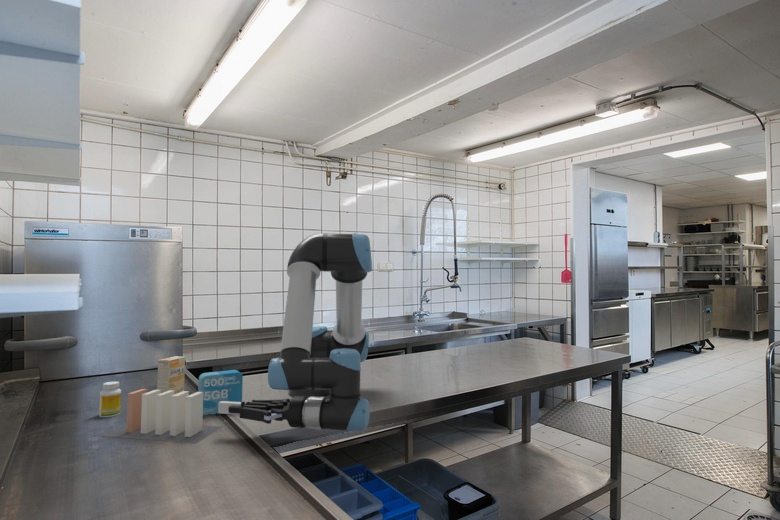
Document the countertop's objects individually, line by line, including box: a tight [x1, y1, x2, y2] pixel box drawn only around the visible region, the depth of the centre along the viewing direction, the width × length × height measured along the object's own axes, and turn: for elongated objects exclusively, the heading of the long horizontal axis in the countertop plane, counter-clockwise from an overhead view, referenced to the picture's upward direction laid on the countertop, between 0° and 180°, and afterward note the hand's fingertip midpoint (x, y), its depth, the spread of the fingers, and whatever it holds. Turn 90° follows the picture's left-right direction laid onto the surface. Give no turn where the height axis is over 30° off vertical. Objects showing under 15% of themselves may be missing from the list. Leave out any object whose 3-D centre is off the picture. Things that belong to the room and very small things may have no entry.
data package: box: [197, 369, 244, 416], centre depth 130 cm, size 12×4×12 cm, turn 123°
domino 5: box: [185, 391, 204, 437], centre depth 111 cm, size 2×5×10 cm, turn 171°
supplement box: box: [156, 355, 186, 394], centre depth 148 cm, size 8×5×13 cm, turn 168°
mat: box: [102, 424, 223, 444], centre depth 112 cm, size 26×12×1 cm, turn 81°
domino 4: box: [170, 390, 190, 436], centre depth 112 cm, size 2×5×10 cm, turn 171°
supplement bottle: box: [98, 381, 122, 418], centre depth 126 cm, size 5×5×10 cm
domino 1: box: [126, 388, 148, 433], centre depth 114 cm, size 2×5×10 cm, turn 171°
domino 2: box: [141, 389, 161, 434], centre depth 113 cm, size 2×5×10 cm, turn 171°
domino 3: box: [155, 390, 175, 435], centre depth 112 cm, size 2×5×10 cm, turn 171°
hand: (220, 407), depth 110 cm, fingers closed
